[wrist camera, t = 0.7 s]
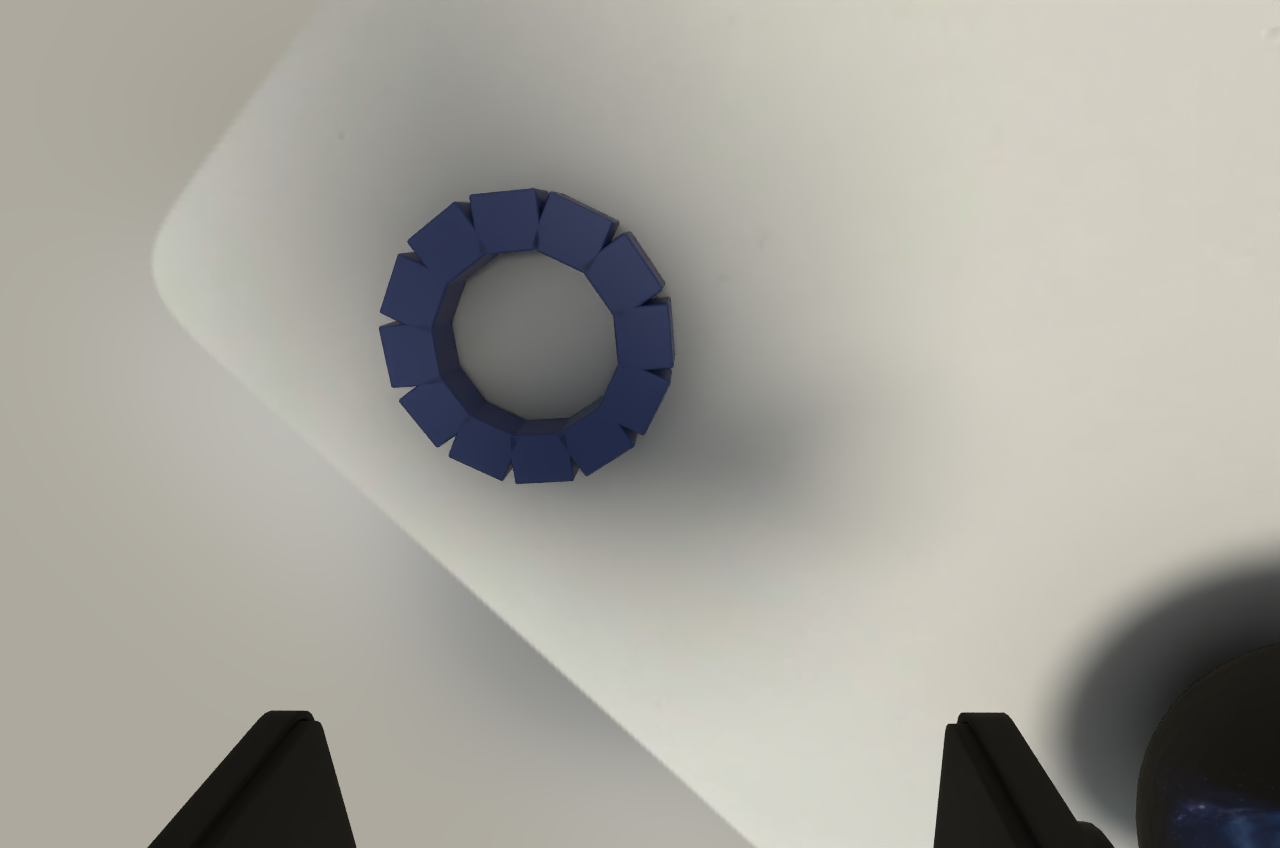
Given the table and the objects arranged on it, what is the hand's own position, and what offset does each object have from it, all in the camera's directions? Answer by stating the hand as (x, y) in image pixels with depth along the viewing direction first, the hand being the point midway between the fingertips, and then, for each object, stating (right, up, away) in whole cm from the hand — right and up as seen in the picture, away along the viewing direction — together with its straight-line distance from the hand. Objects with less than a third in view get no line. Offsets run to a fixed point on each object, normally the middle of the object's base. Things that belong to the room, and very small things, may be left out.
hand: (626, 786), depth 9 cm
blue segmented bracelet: (-3, +8, +13) cm, 16 cm away
